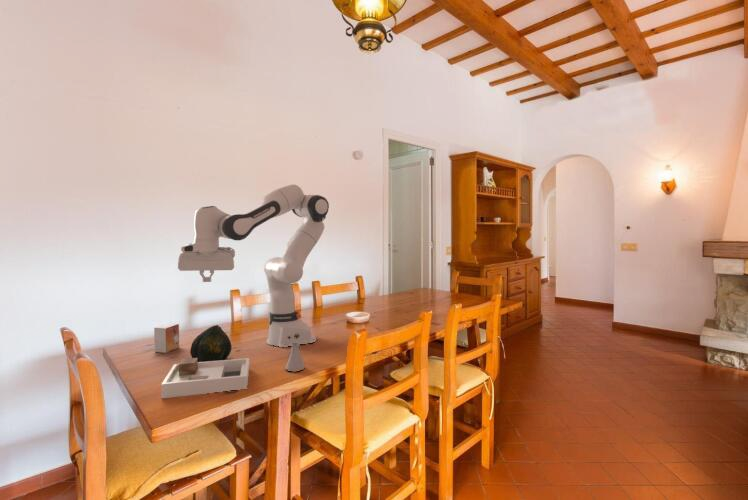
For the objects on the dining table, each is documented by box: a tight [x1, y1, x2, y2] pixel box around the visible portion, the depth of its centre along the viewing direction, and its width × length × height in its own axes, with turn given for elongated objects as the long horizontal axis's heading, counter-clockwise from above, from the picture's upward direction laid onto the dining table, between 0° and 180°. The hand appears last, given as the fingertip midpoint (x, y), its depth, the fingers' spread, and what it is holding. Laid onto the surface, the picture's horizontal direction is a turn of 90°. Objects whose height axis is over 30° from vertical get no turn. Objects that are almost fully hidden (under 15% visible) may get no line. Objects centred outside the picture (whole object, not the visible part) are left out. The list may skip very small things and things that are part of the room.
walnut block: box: [178, 357, 198, 376], centre depth 124 cm, size 5×5×4 cm
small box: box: [153, 322, 180, 354], centre depth 155 cm, size 8×6×10 cm
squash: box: [189, 324, 232, 362], centre depth 142 cm, size 14×15×15 cm
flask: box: [284, 342, 306, 372], centre depth 136 cm, size 7×7×10 cm
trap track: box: [160, 357, 250, 399], centre depth 123 cm, size 25×17×4 cm
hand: (207, 281), depth 144 cm, fingers closed
